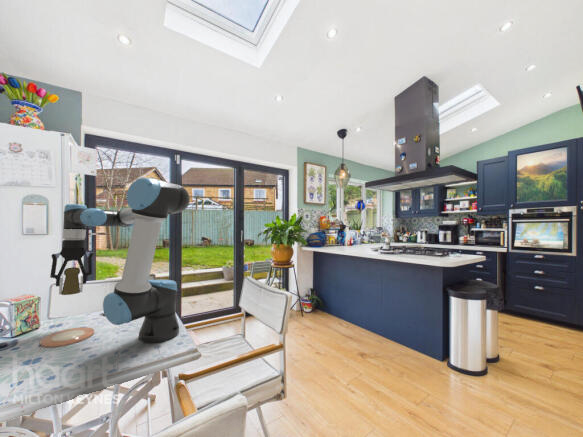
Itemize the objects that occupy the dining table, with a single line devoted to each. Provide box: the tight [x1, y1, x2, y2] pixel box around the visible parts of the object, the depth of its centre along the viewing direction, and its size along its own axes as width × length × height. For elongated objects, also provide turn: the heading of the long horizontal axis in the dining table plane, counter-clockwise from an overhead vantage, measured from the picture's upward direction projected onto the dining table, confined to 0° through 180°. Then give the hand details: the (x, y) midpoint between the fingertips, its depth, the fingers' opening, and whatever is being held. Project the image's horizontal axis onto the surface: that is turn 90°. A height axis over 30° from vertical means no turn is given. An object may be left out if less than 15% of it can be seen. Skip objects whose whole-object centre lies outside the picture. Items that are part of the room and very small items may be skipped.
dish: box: [39, 326, 95, 348], centre depth 97 cm, size 16×16×1 cm
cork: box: [60, 266, 81, 296], centre depth 104 cm, size 6×6×11 cm
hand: (71, 292), depth 104 cm, fingers closed on cork, 6 cm apart
